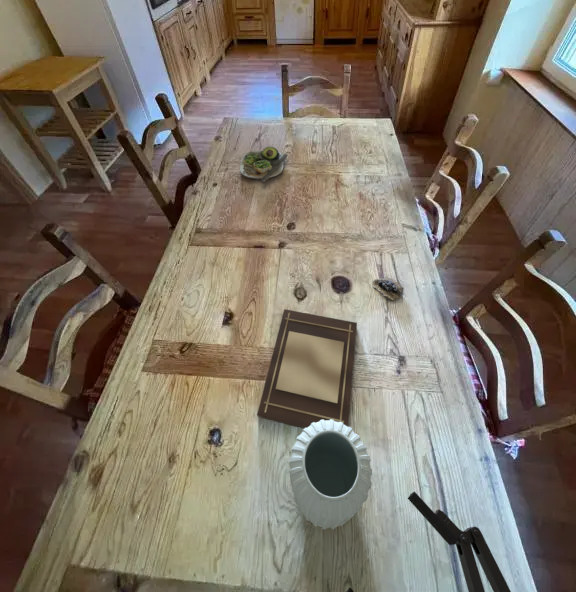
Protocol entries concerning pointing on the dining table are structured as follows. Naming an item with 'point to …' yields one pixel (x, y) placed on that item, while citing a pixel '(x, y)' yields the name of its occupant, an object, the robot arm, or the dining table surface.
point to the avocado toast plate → (262, 164)
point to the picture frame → (309, 371)
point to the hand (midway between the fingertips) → (381, 539)
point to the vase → (329, 473)
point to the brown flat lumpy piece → (388, 288)
